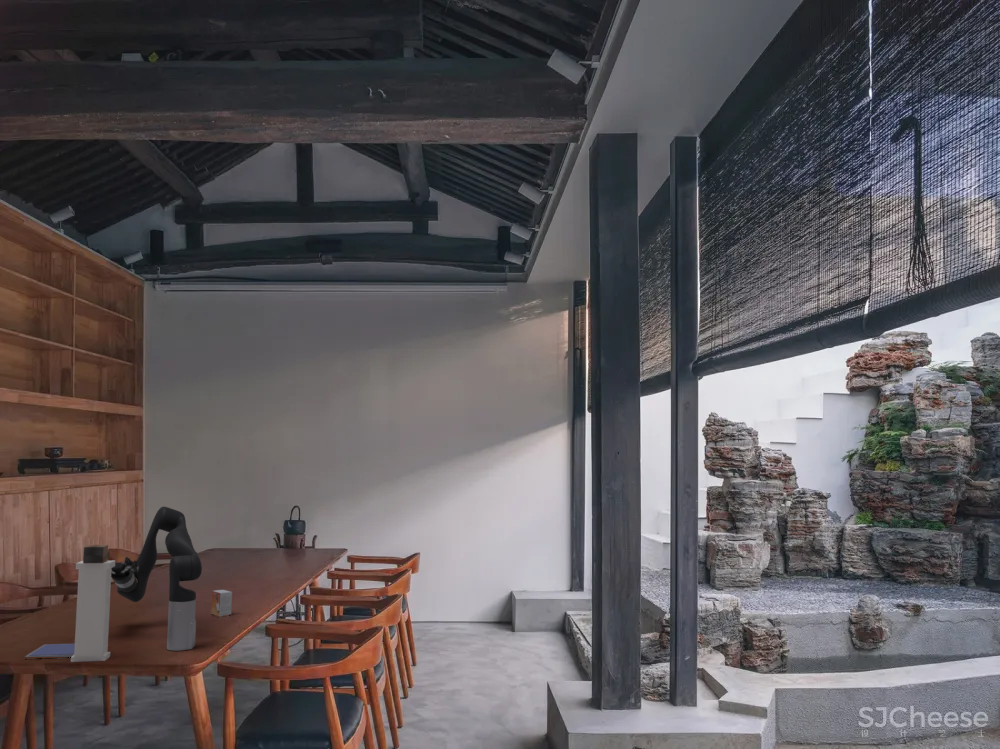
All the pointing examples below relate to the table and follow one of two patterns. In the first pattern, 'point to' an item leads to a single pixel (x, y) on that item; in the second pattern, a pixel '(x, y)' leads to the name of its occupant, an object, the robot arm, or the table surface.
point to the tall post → (92, 611)
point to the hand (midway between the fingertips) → (113, 559)
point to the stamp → (96, 554)
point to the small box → (221, 602)
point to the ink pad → (53, 651)
